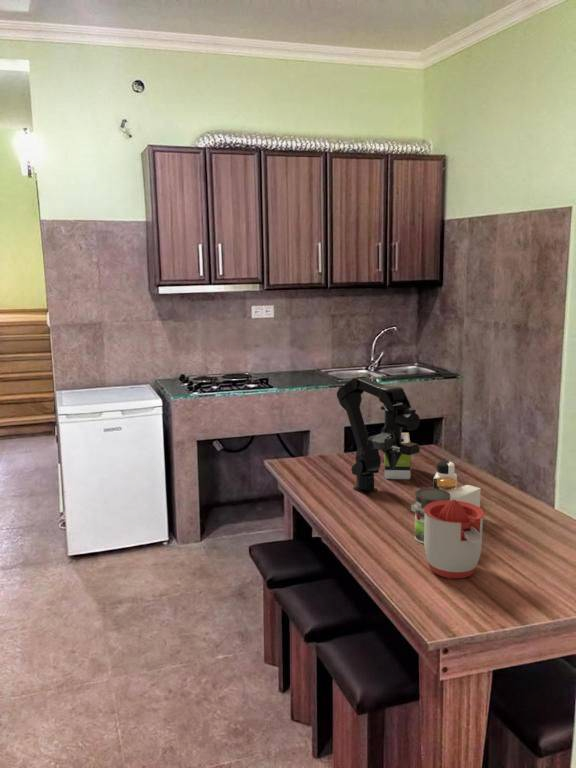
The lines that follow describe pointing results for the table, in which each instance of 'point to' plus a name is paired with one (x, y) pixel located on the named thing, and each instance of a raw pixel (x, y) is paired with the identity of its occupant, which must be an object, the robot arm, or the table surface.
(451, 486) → the knob
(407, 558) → the table surface
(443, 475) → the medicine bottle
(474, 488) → the knob mount
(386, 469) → the tea box
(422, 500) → the coffee can
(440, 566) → the citrus juicer
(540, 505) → the table surface
